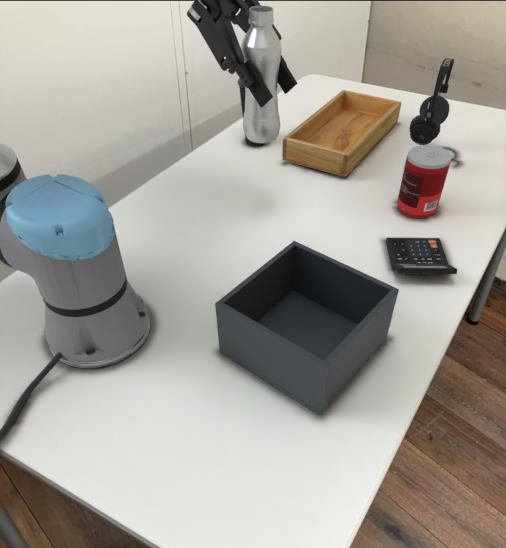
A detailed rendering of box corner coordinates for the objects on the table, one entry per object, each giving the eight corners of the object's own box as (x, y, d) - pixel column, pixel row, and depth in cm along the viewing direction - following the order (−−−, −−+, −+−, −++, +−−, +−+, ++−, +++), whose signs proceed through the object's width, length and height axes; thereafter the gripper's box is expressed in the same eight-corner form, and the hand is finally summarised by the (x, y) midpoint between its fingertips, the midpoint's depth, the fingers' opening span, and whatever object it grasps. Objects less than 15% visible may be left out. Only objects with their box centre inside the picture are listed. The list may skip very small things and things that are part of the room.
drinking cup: (269, 151, 116) (270, 55, 101) (236, 148, 117) (232, 53, 102) (275, 135, 121) (276, 42, 106) (243, 133, 122) (240, 40, 107)
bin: (319, 415, 67) (325, 367, 60) (219, 352, 75) (214, 303, 67) (386, 338, 76) (399, 289, 69) (291, 289, 84) (294, 240, 77)
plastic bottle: (258, 151, 87) (257, 18, 73) (235, 137, 91) (230, 7, 76) (287, 141, 90) (292, 10, 75) (264, 127, 94) (265, 0, 79)
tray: (340, 110, 130) (343, 87, 125) (397, 124, 124) (402, 100, 120) (281, 163, 112) (282, 138, 108) (344, 181, 106) (348, 155, 102)
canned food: (440, 201, 101) (455, 148, 92) (432, 223, 96) (447, 169, 88) (401, 193, 103) (413, 140, 95) (391, 214, 98) (403, 160, 90)
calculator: (438, 241, 92) (442, 228, 90) (452, 284, 84) (458, 270, 82) (385, 241, 92) (388, 227, 90) (395, 284, 84) (398, 269, 82)
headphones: (451, 182, 105) (481, 80, 91) (397, 171, 109) (418, 71, 94) (464, 150, 115) (494, 53, 100) (414, 140, 118) (436, 45, 103)
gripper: (222, -34, 86) (297, 90, 91) (140, -9, 76) (230, 128, 81) (246, -70, 80) (326, 64, 85) (160, -50, 70) (256, 102, 75)
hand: (279, 95), depth 83 cm, fingers closed on plastic bottle, 6 cm apart
